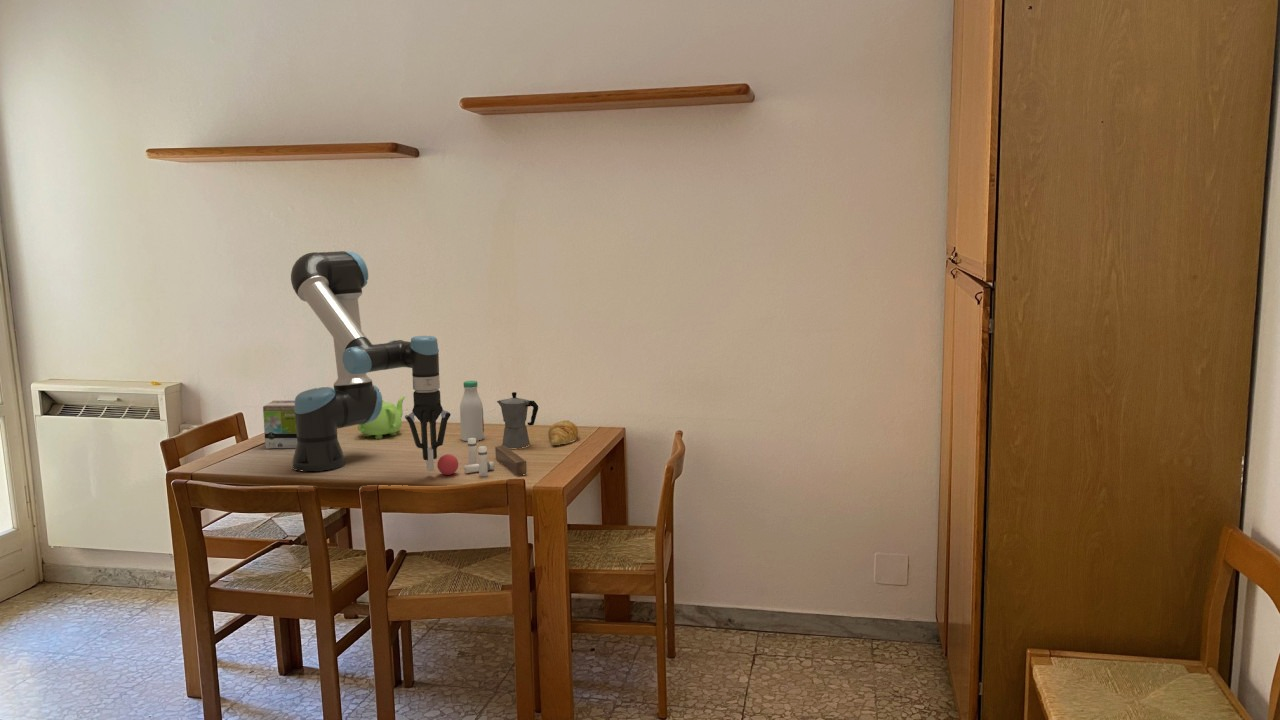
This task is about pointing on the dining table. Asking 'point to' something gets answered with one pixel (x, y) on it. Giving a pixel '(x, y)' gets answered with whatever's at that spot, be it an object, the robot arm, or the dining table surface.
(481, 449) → the pin
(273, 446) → the tea box
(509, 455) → the brown long rectangular bar
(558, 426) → the croissant
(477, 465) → the front pin
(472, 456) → the pin
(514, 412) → the coffeepot
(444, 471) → the ball
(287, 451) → the dining table surface
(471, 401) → the milk bottle
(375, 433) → the green lumpy piece
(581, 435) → the dining table surface
